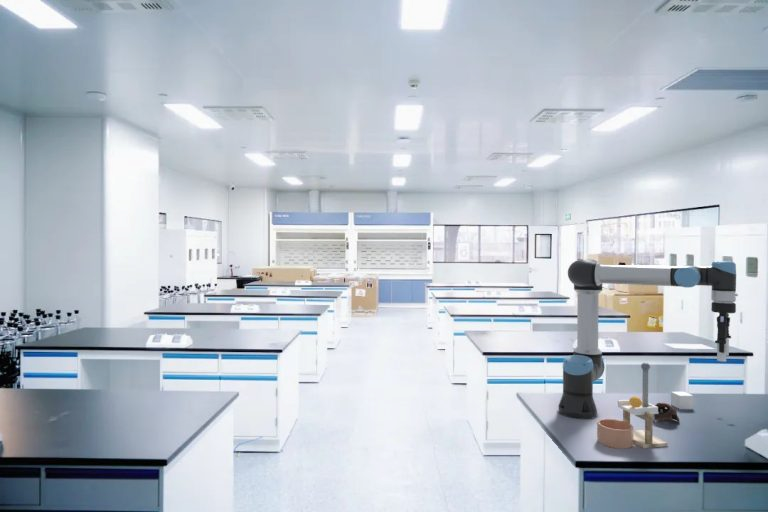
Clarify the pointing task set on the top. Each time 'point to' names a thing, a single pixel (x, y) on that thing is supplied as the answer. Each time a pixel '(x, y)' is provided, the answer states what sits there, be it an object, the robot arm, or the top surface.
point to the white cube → (682, 400)
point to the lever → (645, 405)
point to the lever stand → (645, 432)
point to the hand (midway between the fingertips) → (723, 358)
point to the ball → (635, 402)
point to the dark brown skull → (666, 412)
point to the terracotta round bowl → (615, 433)
